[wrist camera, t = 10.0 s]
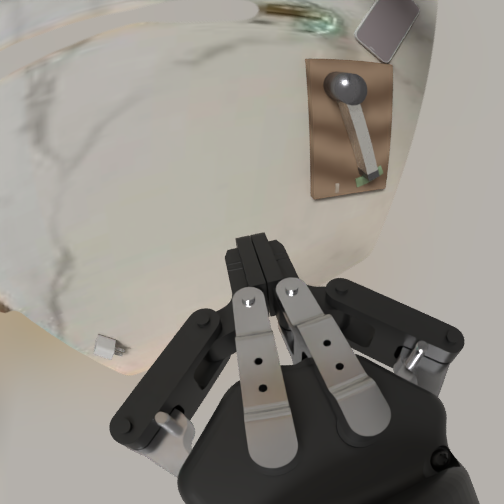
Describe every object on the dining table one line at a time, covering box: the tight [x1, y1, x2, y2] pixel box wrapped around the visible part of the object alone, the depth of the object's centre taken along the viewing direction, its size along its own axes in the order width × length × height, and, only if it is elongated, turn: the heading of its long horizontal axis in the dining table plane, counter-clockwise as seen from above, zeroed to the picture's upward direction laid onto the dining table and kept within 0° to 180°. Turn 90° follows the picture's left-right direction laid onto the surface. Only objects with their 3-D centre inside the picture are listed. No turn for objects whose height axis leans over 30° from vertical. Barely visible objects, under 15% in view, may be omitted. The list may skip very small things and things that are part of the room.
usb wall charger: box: [94, 334, 125, 360], centre depth 56 cm, size 4×7×4 cm, turn 55°
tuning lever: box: [323, 71, 380, 181], centre depth 35 cm, size 17×4×4 cm, turn 26°
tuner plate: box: [305, 59, 393, 199], centre depth 38 cm, size 22×14×2 cm, turn 6°
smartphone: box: [354, 0, 420, 62], centre depth 28 cm, size 7×1×15 cm
